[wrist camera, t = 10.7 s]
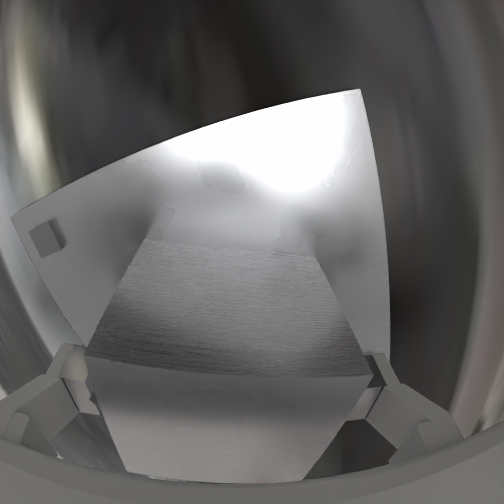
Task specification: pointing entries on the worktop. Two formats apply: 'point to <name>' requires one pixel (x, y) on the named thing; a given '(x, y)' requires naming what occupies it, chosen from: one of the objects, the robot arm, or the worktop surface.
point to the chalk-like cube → (224, 364)
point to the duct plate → (228, 209)
